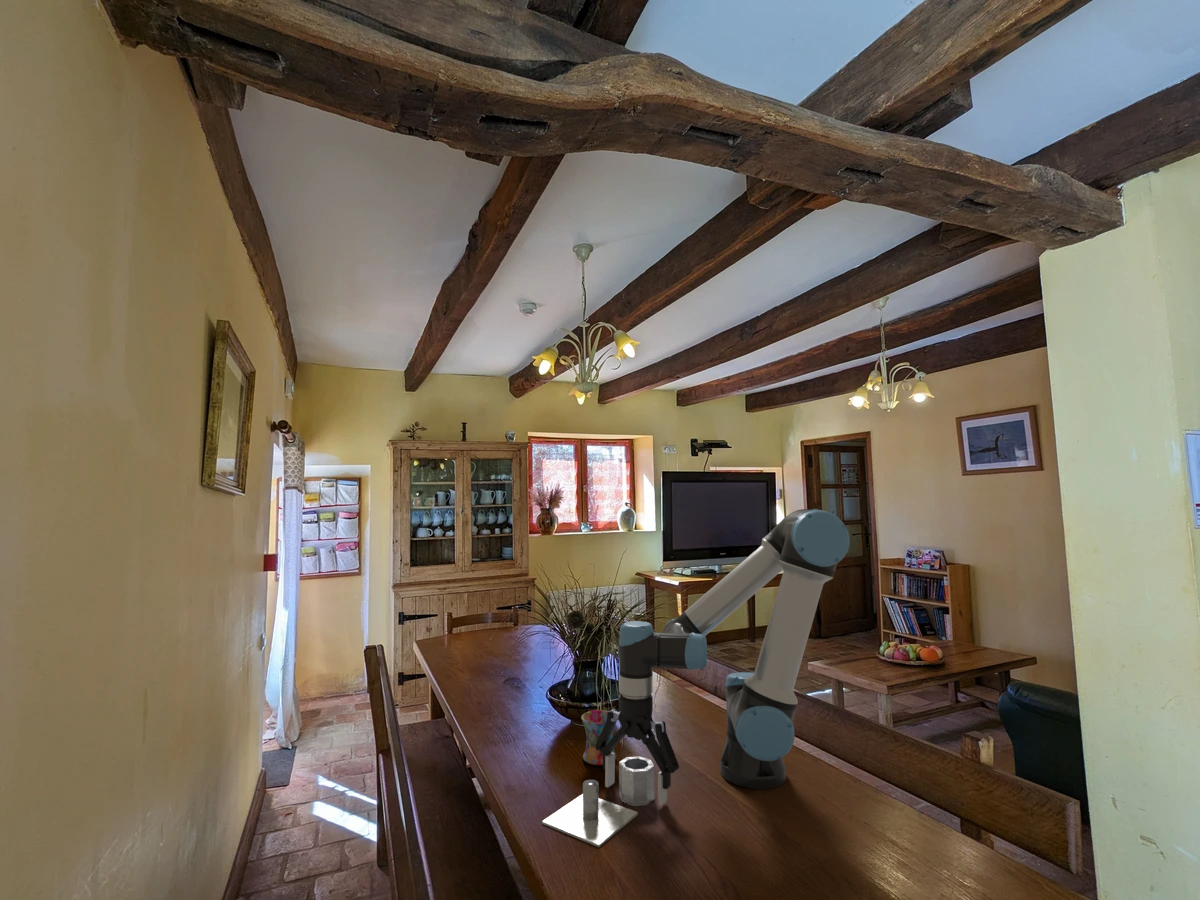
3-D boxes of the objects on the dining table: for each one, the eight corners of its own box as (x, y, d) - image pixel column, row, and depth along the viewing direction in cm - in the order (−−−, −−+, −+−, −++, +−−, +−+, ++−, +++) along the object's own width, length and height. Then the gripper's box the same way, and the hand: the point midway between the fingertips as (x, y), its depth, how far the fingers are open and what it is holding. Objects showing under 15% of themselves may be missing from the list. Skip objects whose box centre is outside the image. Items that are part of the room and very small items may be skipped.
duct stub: (637, 814, 120) (637, 779, 121) (598, 847, 109) (598, 808, 109) (583, 795, 128) (583, 762, 129) (542, 823, 117) (542, 787, 117)
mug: (593, 772, 139) (593, 726, 140) (574, 757, 147) (574, 714, 148) (634, 760, 146) (634, 716, 146) (614, 747, 153) (614, 705, 154)
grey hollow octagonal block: (659, 795, 128) (658, 762, 129) (642, 809, 122) (641, 774, 123) (631, 786, 132) (631, 754, 133) (613, 799, 127) (613, 765, 127)
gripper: (694, 700, 125) (694, 803, 123) (599, 679, 140) (599, 771, 138) (677, 710, 119) (678, 819, 117) (581, 687, 134) (579, 784, 132)
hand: (635, 793), depth 127 cm, fingers open, 13 cm apart
